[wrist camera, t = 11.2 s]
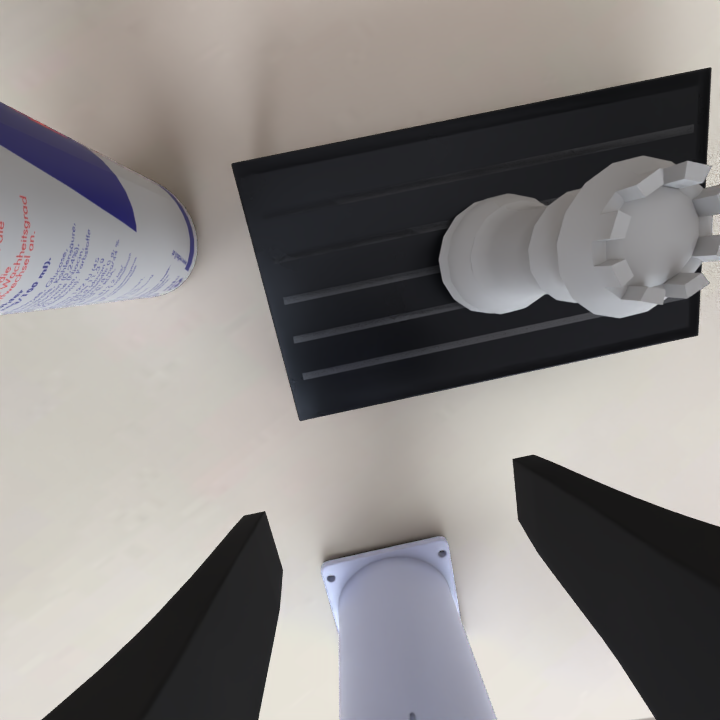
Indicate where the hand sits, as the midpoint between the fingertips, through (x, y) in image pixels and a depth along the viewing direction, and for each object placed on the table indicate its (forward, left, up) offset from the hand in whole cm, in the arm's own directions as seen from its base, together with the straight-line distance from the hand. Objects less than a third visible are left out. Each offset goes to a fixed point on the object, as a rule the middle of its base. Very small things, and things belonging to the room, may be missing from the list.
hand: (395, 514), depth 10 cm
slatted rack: (+6, -6, -10) cm, 13 cm away
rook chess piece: (+6, -6, -6) cm, 11 cm away
